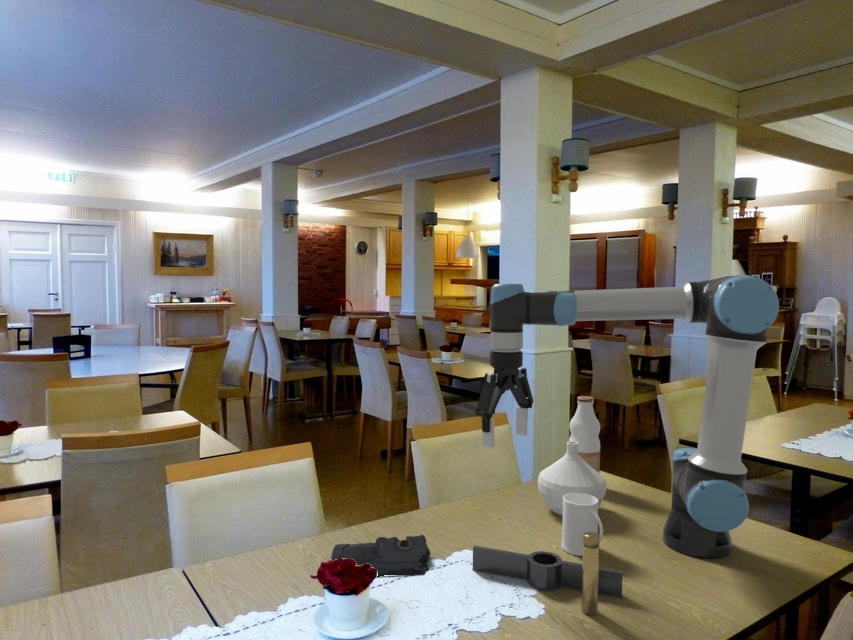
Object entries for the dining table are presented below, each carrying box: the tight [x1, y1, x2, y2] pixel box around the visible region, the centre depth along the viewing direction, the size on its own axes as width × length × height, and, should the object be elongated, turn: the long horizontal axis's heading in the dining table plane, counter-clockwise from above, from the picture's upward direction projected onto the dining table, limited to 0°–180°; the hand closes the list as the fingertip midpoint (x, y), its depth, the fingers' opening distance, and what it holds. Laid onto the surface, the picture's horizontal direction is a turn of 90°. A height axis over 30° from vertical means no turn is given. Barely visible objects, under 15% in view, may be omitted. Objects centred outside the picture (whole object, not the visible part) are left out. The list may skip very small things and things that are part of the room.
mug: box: [560, 493, 604, 557], centre depth 139 cm, size 12×8×12 cm
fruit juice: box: [568, 395, 601, 474], centre depth 182 cm, size 9×9×28 cm
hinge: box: [472, 545, 624, 599], centre depth 124 cm, size 31×7×5 cm, turn 69°
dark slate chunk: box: [330, 534, 431, 578], centre depth 134 cm, size 15×22×5 cm
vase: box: [537, 440, 607, 517], centre depth 163 cm, size 18×18×19 cm
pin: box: [580, 532, 601, 617], centre depth 113 cm, size 3×3×15 cm
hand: (505, 440), depth 139 cm, fingers open, 13 cm apart
